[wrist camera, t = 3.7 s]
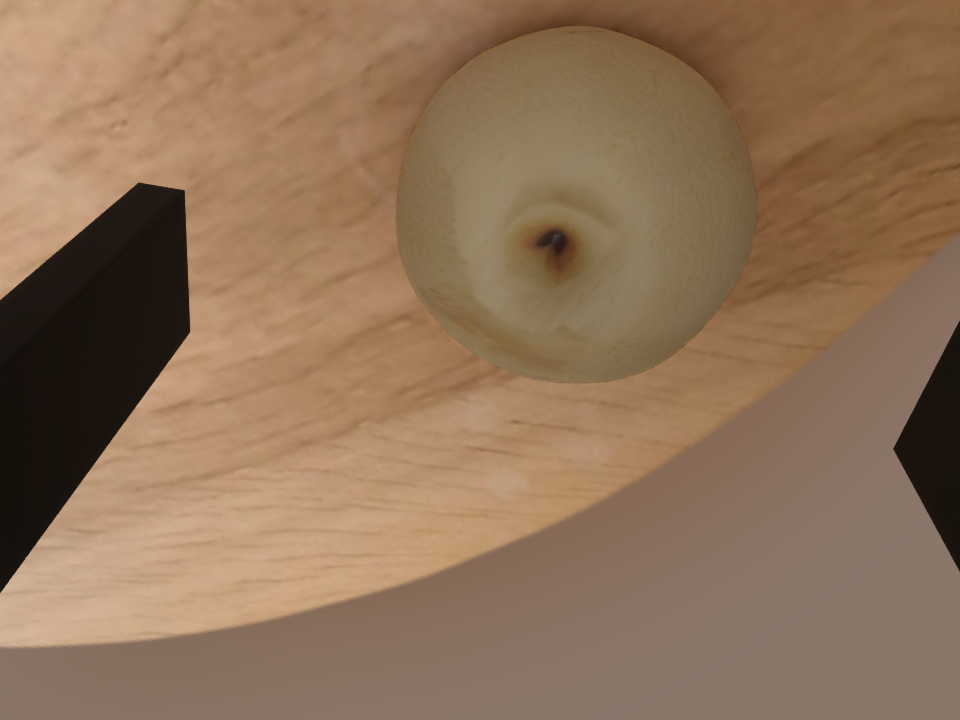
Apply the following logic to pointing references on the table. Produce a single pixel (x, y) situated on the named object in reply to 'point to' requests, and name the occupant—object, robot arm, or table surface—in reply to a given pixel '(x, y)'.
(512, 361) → the apple
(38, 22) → the table surface
